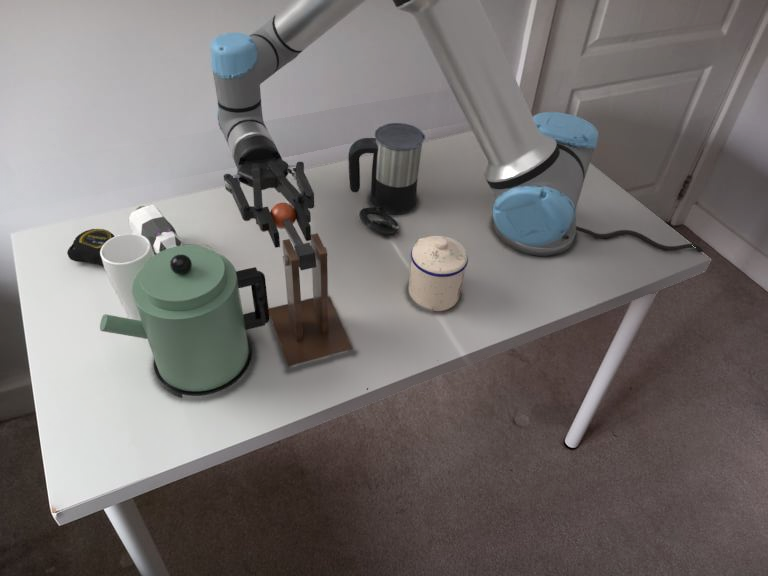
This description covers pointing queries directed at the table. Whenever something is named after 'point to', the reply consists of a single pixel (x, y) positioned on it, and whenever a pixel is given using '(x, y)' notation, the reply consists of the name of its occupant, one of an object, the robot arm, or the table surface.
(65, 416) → the table surface
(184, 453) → the table surface
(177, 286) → the kettle
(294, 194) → the robot arm
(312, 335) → the switch base
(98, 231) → the tape measure
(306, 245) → the switch lever
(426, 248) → the teacup with lid
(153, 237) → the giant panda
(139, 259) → the drinking glass
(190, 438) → the table surface
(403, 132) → the milk frother
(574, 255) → the table surface
